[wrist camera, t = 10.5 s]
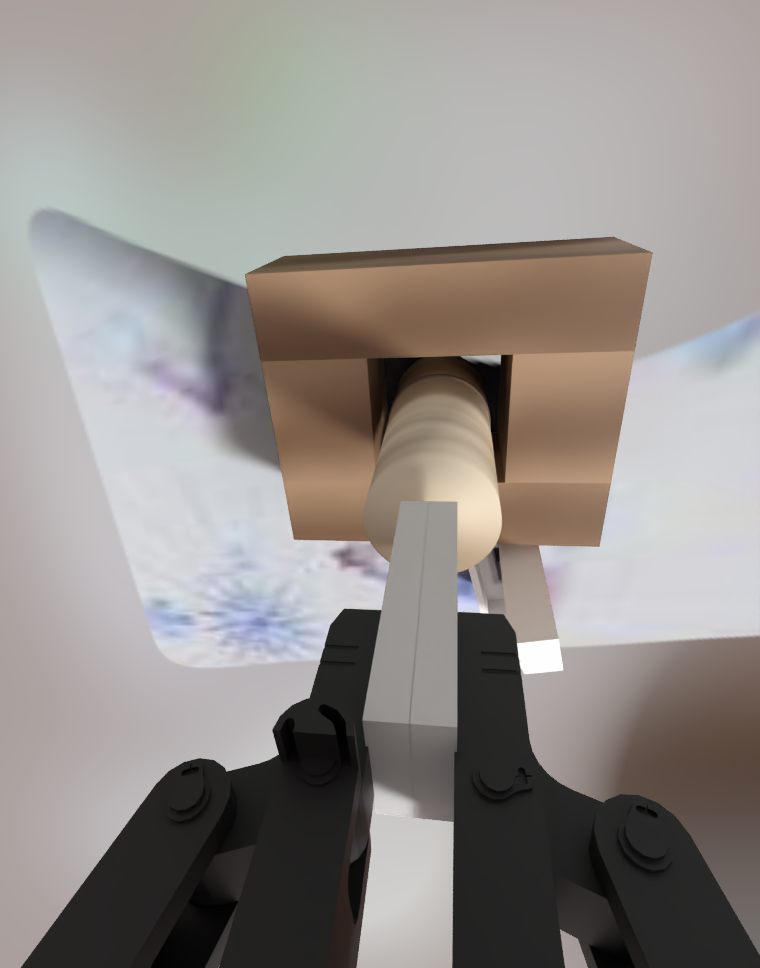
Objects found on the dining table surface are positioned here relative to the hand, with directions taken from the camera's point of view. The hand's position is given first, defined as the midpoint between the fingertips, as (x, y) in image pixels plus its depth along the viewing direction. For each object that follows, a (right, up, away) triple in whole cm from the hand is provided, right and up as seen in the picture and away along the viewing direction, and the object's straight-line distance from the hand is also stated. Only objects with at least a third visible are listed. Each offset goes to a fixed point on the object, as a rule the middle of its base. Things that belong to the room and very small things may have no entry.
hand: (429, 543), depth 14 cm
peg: (+2, +7, +11) cm, 13 cm away
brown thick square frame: (+2, +7, +11) cm, 13 cm away
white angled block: (+6, -2, +16) cm, 17 cm away
